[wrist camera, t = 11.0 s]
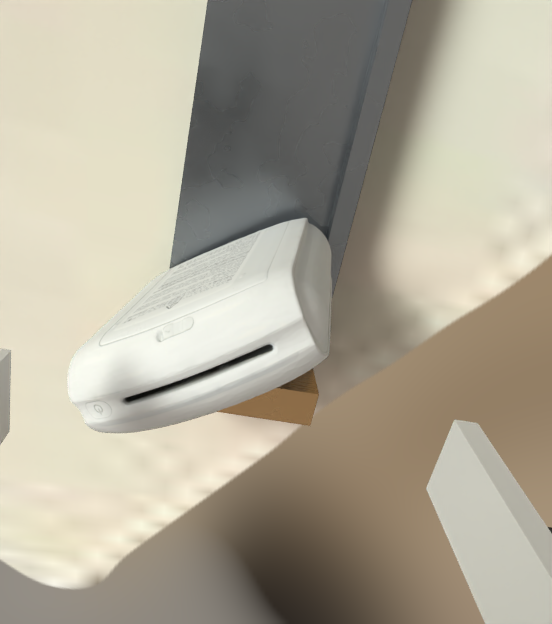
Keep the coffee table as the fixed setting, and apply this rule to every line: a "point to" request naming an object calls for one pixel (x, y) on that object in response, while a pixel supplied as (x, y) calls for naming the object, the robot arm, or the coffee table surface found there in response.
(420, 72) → the coffee table surface
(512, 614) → the robot arm
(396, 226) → the coffee table surface
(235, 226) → the rail
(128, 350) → the photo printer
